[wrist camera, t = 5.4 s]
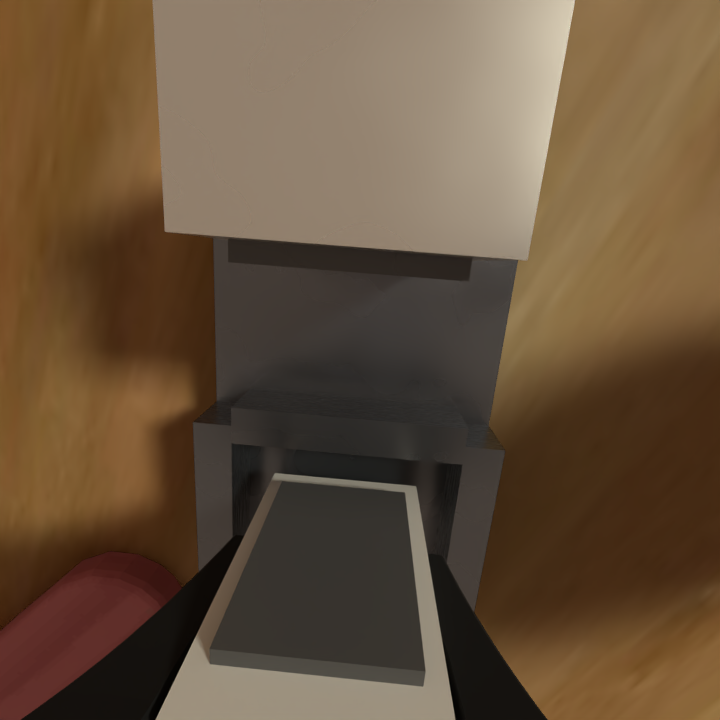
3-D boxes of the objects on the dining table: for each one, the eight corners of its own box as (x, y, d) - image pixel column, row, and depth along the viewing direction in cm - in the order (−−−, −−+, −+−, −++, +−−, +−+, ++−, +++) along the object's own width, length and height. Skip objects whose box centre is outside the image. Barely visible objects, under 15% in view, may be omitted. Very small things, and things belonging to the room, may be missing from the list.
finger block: (401, 600, 12) (424, 936, 6) (272, 587, 12) (169, 906, 6) (417, 476, 11) (465, 741, 5) (274, 463, 11) (151, 707, 5)
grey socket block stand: (538, 26, 10) (996, -639, 3) (445, 591, 14) (513, 926, 7) (231, 7, 10) (-154, -666, 3) (236, 569, 15) (97, 875, 7)
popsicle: (-116, 738, 16) (91, 548, 13) (-75, 698, 18) (120, 518, 15) (-13, 805, 17) (204, 641, 14) (18, 761, 19) (221, 604, 16)
